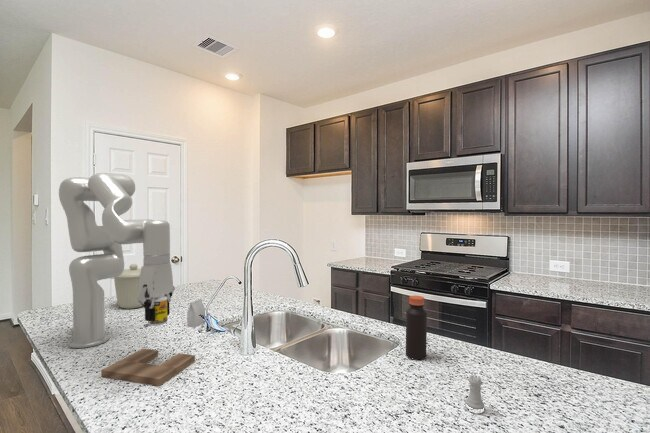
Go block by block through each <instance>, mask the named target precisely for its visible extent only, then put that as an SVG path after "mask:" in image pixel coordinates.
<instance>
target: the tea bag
mask: <svg viewBox="0 0 650 433" xmlns="http://www.w3.org/2000/svg"><path fill="white" fill-rule="evenodd" d="M202 300H203V299H202V298H200V299H197V300H195V301H192V302H190V303H189V304H190V305H189V308H188V310H187V320H186V321H187V323H186V324H187V327H189V328H197V327H199V326H200V325H202V324H204V323H205V322H204V320H203V318H202V317H201V316H199V315H200V314H201V315H205V316H206V307H205V305H204V303H203V301H202ZM203 322H204V323H203Z"/></svg>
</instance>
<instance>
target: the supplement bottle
mask: <svg viewBox="0 0 650 433" xmlns="http://www.w3.org/2000/svg"><path fill="white" fill-rule="evenodd" d="M150 301H151V300H149V303H150ZM153 308H155V321H147V324H148V326H152V327H153V326H156V327H157V326H162V325H164V324H166V323H167V322H168V315H167V297H166V296H164V294H162V296H160V297H158V298H155V302H154V307H153Z"/></svg>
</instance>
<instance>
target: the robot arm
mask: <svg viewBox="0 0 650 433" xmlns="http://www.w3.org/2000/svg"><path fill="white" fill-rule="evenodd" d="M135 192H136V184H135V181H134V180H133V179H132V178H131V177H130V175H126V174H122V173H121V174H120V173H119V174H118V173H108V172H98V173H95V174H93V175H91V176H90V177H80V176H79V177H69V178H66V179H64V180H62V182H61V183H60V184H59V188H58V198H59V202H60V205H61V207H62V209H63V211H64V213H65V216H66V221H67V229H68V236H69V241H70V246H71V249H72V250H73V251H74V252H77V253H93V252H101V251H103V252H102V253H99V254H89V255H83V256H79V257H76V258H74V259H73V260H71V261H70V264H69V266H68V272H69V277H70V281H71V287H72V288H71V289H72V324H73V325H72V328H71V329H70V330H69V331H67V332H66V334H67V336H71V339H69V340H68V341H67V345H68V347H70V348H73V349H83V348H84V349H85V348H92V347H94V346H95V347H96V346H99V345H101V344H104V343H106V342H107V341H109V340H110V335H111V334H110V333H108V332H106V330H105V329H106V328H105V326H106V325H105V324H106V321H105V314H106V313H105V310H106V309H105V308H106V307H105V291H104V289H103V287H102V286H101V285H100V284H99V283H98V281H101V280H107V279H114V277H117V276H120V275H121V274H122V273H123V271H124V270H125V260H124V259H125V258H124V254H123V253H124V251H123V245H131V244H142V247H143V250H142V251H143V260H142V261H143V265H141V267H140V268H141V272H140V279H139V297H138V299H137V301H138V302H139V303H141V305H142V308H144V321H145V322H146V321H147V322H148V321H155V308H153V307H154V302H155V298H158V297H160V296H162V294H164V296H166V297H167V316H169V315H170V303H171V301H172V299H171V298H172V297H173V294H174V291H175V290H176V287H175V286H174V281H173V280H174V279H173V271H172V270H173V269H172V264H171V234H170V233H171V231H170V230H171V225H170V223H169V222H168V221H167V220H153V219H122V218H121V217H120V216H122V215H124V214H125V213H127V212H128V211H129V210H130V209H131V207H132V206H133V198H132V197H133V196H134V194H135ZM85 202H99V203H100V205H101V206H102V207H103V208H104V209H103V210H102V211H103V212H102V214H101V215H102V216H101V222H102V225H97V222H96V216H95V213H94V211H93V209H91V207H90V206H89V205H87V204H86V203H85ZM149 296H150V298H149ZM149 300H151V301H150V303H149Z"/></svg>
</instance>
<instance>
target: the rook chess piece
mask: <svg viewBox="0 0 650 433" xmlns="http://www.w3.org/2000/svg"><path fill="white" fill-rule="evenodd" d="M468 382H469V384H470V385H468V386H469V395H468V396H467V399H466V400H465V405H466V404H467V405H468V406H469V407H471V408H473V409H483V408H484V409H485V403H484V402H483V399H482V393H481V391H482V387H481V386H482V384H483V381H482V378H481V377H480V376H478V375H476V374H475V375H470V376H469V378H468Z"/></svg>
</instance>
